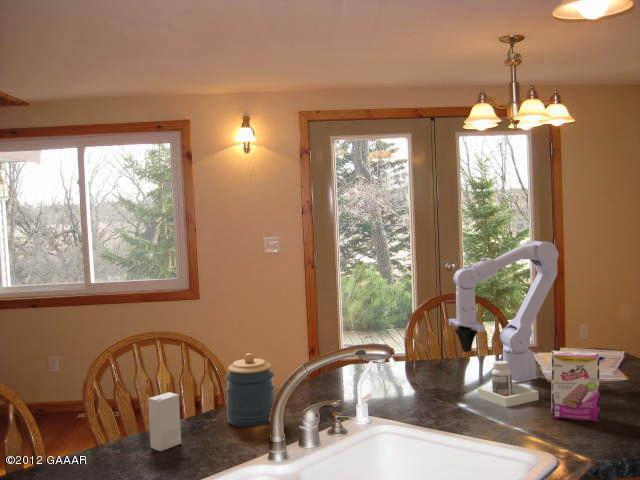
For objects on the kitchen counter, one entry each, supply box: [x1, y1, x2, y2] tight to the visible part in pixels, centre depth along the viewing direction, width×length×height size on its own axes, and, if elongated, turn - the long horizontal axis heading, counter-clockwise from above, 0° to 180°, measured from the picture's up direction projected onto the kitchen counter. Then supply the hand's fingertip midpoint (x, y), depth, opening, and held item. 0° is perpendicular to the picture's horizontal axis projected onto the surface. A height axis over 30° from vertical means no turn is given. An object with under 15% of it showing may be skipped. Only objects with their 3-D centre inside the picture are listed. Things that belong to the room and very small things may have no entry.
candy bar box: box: [550, 350, 600, 423], centre depth 153 cm, size 11×5×16 cm, turn 71°
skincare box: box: [147, 391, 182, 452], centre depth 144 cm, size 6×4×12 cm
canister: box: [224, 352, 276, 428], centre depth 160 cm, size 13×13×18 cm
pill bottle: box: [491, 360, 514, 397], centre depth 172 cm, size 5×5×10 cm
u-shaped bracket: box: [477, 382, 540, 408], centre depth 171 cm, size 12×11×2 cm
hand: (466, 351), depth 189 cm, fingers closed
